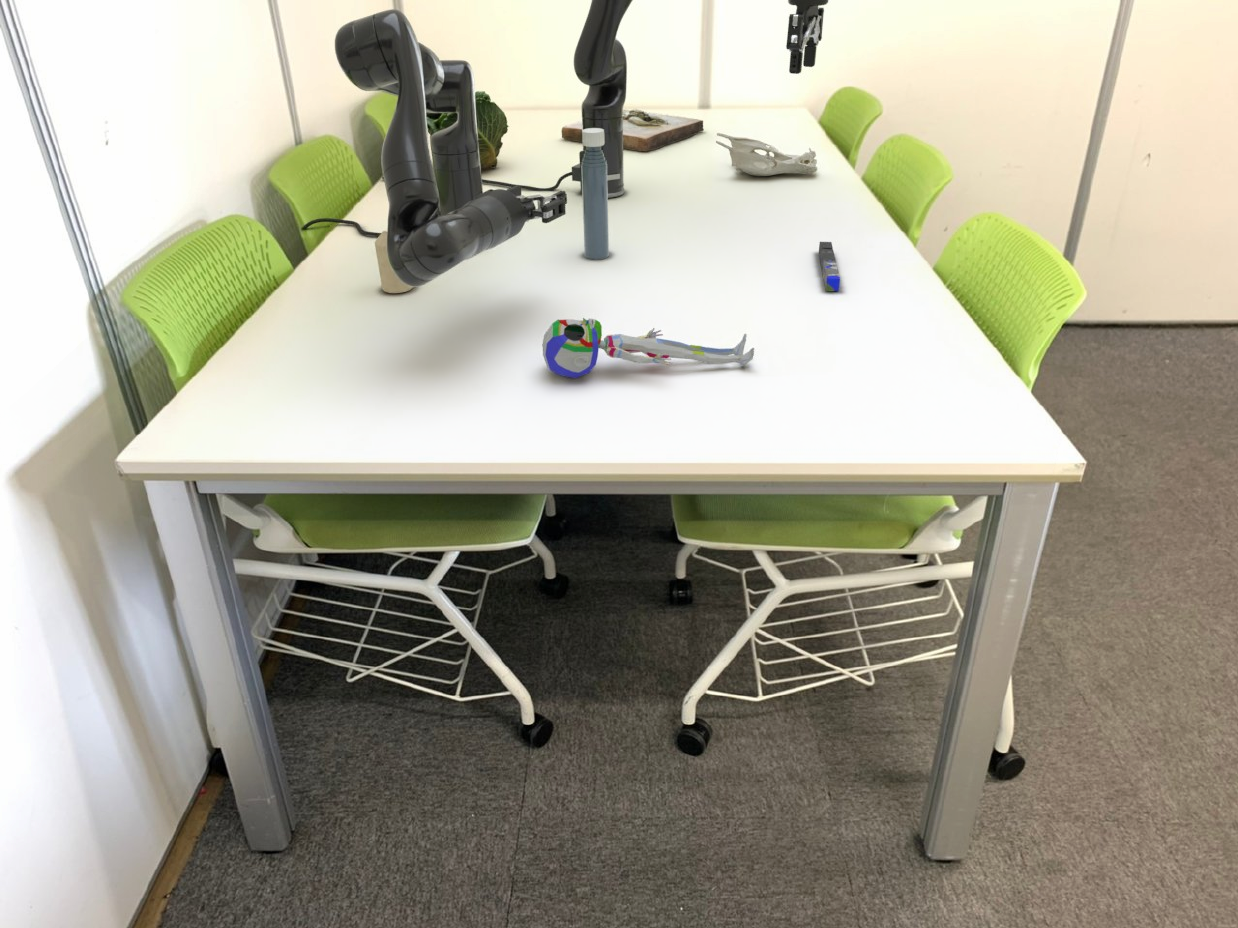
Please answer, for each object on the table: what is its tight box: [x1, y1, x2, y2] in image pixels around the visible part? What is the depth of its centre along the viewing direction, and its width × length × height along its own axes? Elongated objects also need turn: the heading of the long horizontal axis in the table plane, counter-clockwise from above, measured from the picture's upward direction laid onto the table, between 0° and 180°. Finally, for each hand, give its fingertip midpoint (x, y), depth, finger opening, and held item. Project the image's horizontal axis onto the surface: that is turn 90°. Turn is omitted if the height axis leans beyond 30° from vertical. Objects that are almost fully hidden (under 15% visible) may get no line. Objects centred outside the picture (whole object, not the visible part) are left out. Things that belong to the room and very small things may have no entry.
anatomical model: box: [715, 132, 818, 177], centre depth 219 cm, size 15×9×25 cm
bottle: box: [581, 146, 610, 261], centre depth 167 cm, size 5×5×23 cm
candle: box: [374, 230, 414, 294], centre depth 157 cm, size 6×6×10 cm
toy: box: [541, 317, 755, 379], centre depth 130 cm, size 10×8×30 cm
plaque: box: [561, 108, 705, 152], centre depth 257 cm, size 30×7×30 cm
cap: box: [582, 128, 605, 147], centre depth 161 cm, size 4×4×2 cm
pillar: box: [818, 241, 841, 292], centre depth 163 cm, size 2×2×20 cm
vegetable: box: [426, 90, 510, 169], centre depth 225 cm, size 20×19×20 cm
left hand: (541, 194), depth 149 cm, fingers open, 8 cm apart
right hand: (802, 70), depth 176 cm, fingers open, 8 cm apart
